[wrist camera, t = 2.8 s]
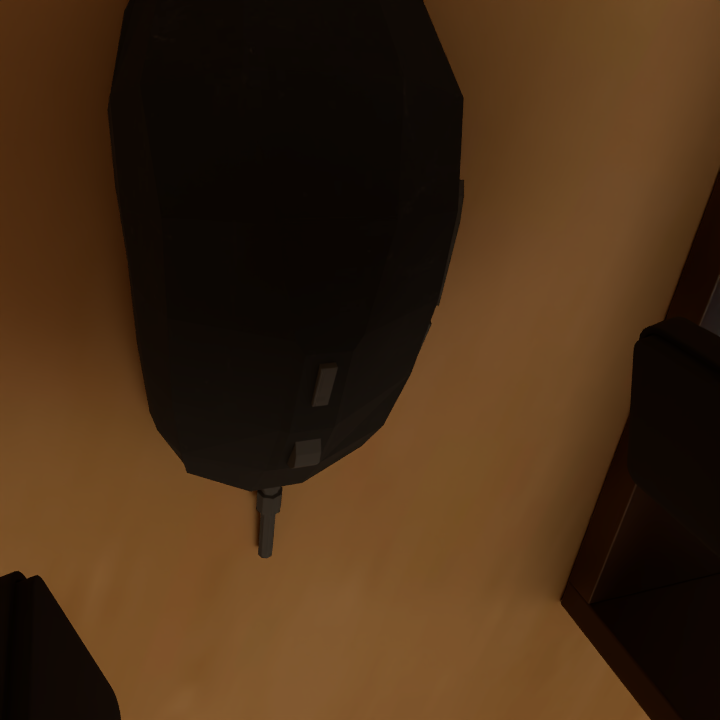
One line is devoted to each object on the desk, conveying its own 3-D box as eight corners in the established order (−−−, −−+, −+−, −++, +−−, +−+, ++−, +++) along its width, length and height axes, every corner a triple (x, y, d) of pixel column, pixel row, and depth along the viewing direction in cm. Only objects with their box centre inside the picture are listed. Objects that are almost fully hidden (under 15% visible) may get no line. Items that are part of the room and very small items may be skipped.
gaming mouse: (144, 571, 18) (164, 707, 15) (87, -117, 11) (101, -145, 8) (369, 527, 20) (429, 636, 17) (444, -67, 13) (572, -74, 10)
